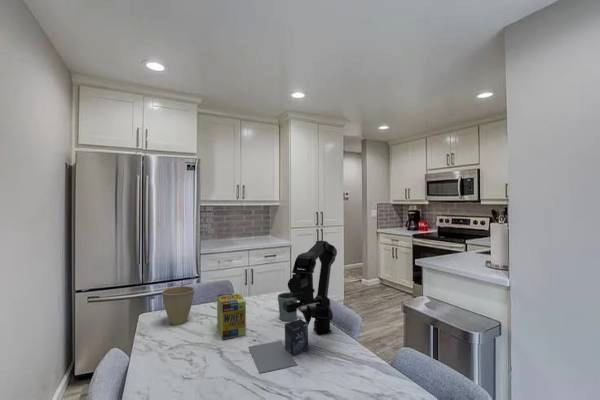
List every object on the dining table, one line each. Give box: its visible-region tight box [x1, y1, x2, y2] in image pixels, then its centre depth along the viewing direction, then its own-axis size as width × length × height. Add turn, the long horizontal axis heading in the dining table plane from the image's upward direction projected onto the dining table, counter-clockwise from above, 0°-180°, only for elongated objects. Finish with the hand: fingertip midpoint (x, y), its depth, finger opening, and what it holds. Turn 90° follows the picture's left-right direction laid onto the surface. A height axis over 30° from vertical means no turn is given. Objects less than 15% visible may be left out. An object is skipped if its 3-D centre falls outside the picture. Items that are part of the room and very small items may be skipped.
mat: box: [247, 340, 298, 375], centre depth 111 cm, size 14×20×1 cm
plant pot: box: [161, 285, 195, 326], centre depth 145 cm, size 15×15×16 cm
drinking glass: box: [277, 291, 298, 323], centre depth 148 cm, size 10×10×12 cm
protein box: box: [216, 292, 247, 341], centre depth 133 cm, size 10×15×16 cm
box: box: [284, 318, 309, 356], centre depth 115 cm, size 8×6×11 cm
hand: (307, 324), depth 117 cm, fingers closed
